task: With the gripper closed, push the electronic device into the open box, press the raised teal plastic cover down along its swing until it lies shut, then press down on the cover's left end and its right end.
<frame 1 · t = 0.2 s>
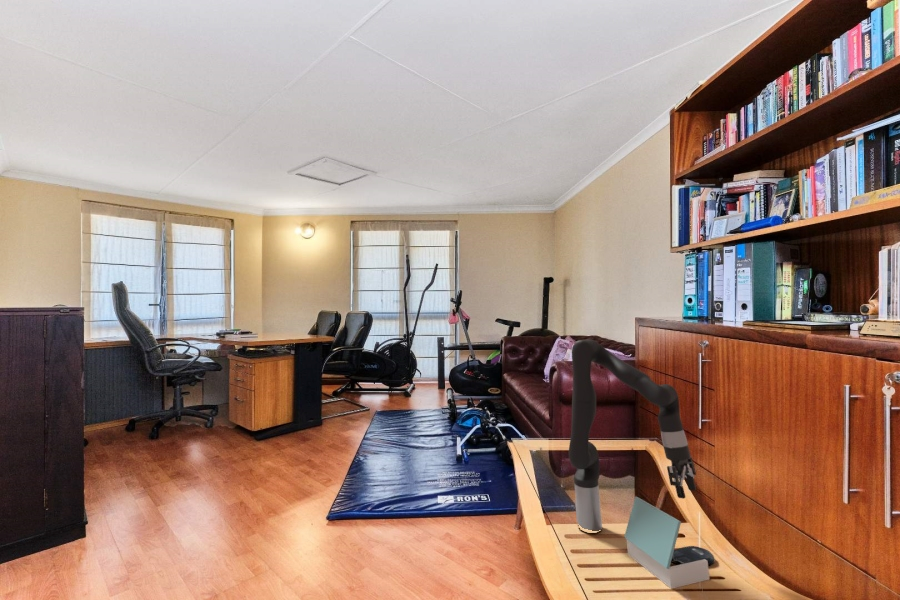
hand: (687, 493, 132), 22 cm above the table, tool pointing down, fingers open, 8 cm apart
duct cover: (650, 529, 130), point 12 cm above the table, hinge at 65.0°
open box: (666, 566, 130), on the table
electronic device: (691, 562, 132), on the table
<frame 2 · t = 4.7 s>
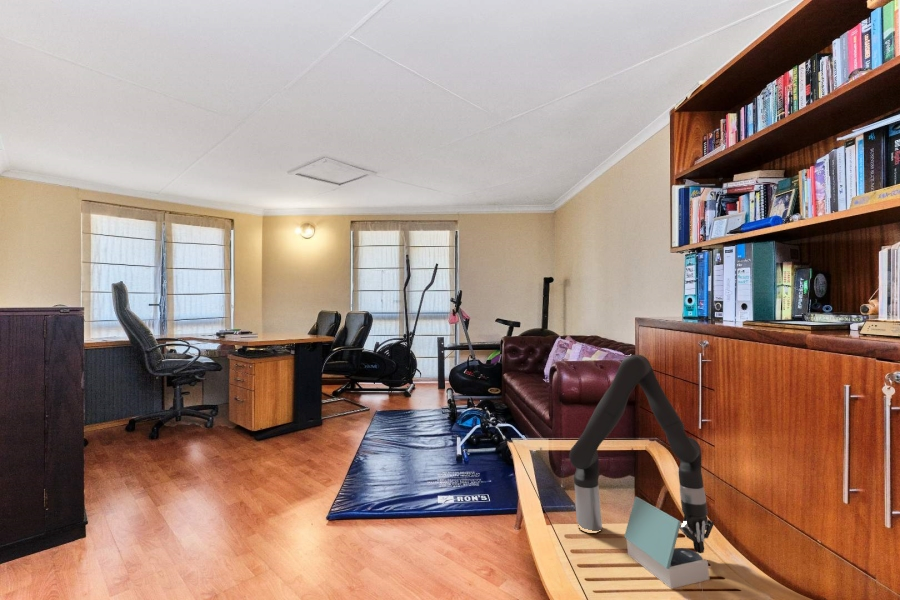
hand: (699, 551, 133), 2 cm above the table, tool pointing down, fingers closed
electronic device: (680, 564, 131), on the table, touching gripper
everything else where it was.
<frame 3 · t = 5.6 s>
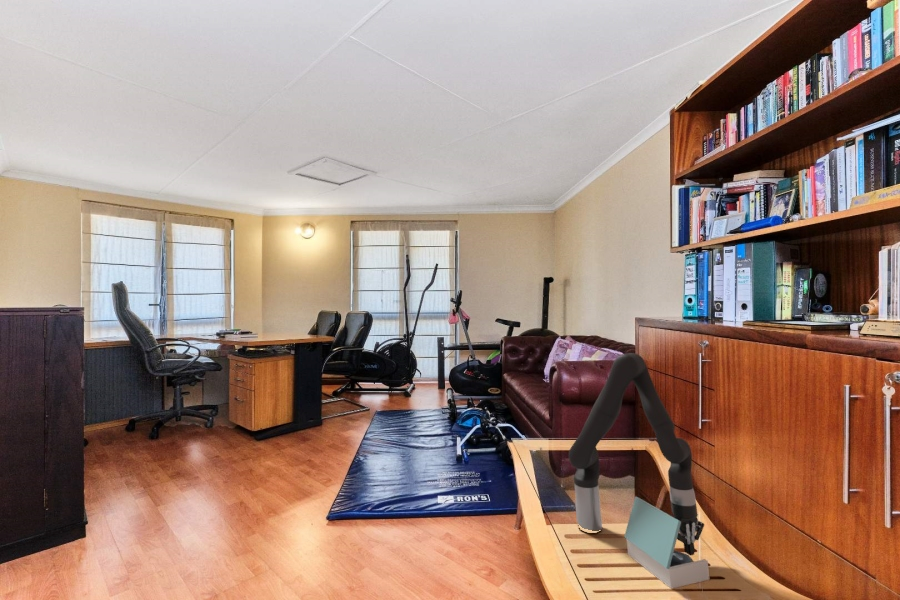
hand: (690, 553, 132), 2 cm above the table, tool pointing down, fingers closed
electronic device: (670, 567, 130), on the table, touching open box, gripper
everything else where it was.
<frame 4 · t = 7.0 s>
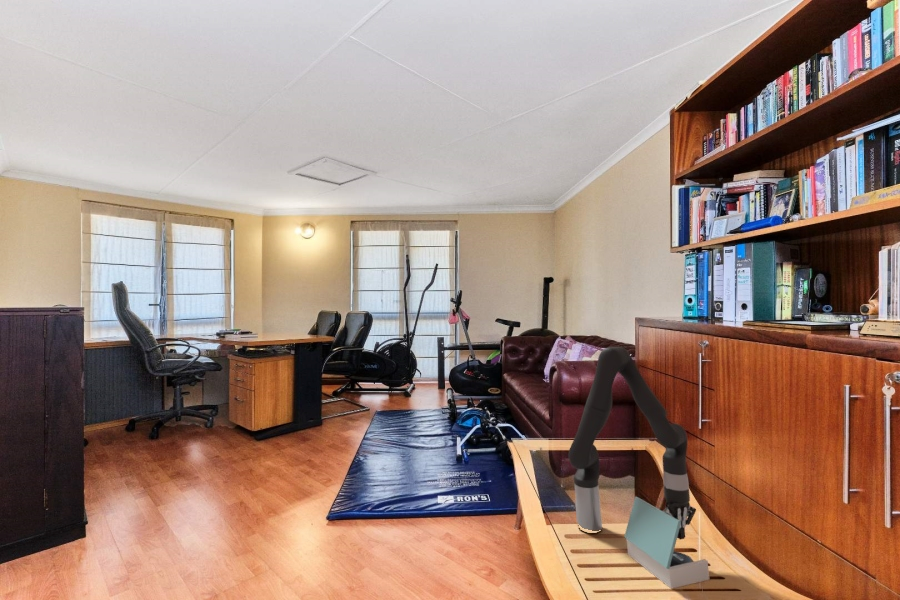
hand: (680, 537, 132), 8 cm above the table, tool pointing down, fingers closed
electronic device: (671, 568, 130), on the table
everything else where it was.
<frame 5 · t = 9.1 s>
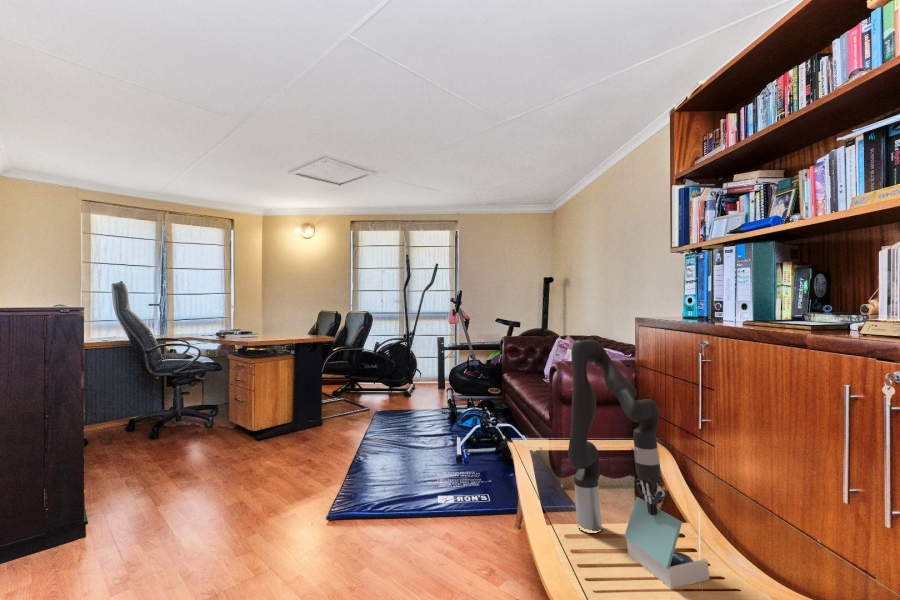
hand: (652, 514, 130), 17 cm above the table, tool pointing down, fingers closed
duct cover: (651, 529, 130), point 12 cm above the table, hinge at 63.3°, touching gripper
everything else where it was.
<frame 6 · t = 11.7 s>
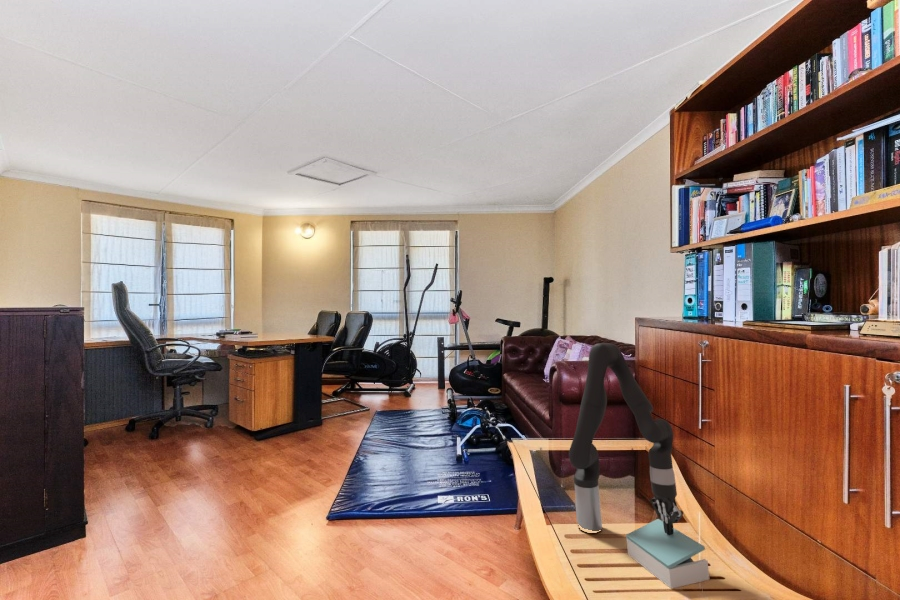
hand: (669, 533, 132), 9 cm above the table, tool pointing down, fingers closed
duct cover: (663, 541, 130), point 8 cm above the table, hinge at 13.6°
everything else where it was.
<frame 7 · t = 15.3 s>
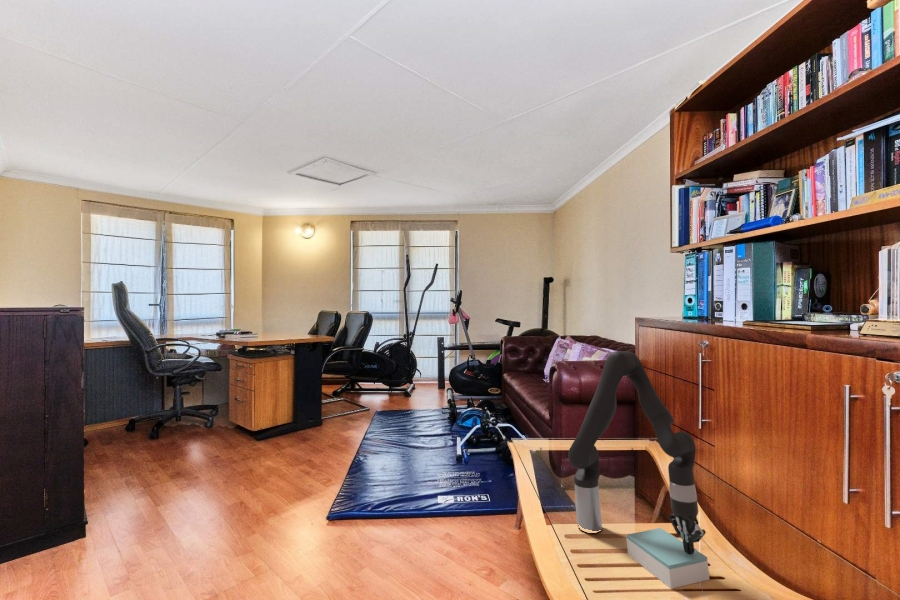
hand: (689, 552, 125), 7 cm above the table, tool pointing down, fingers closed
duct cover: (664, 546, 130), point 6 cm above the table, hinge at 0.2°, touching gripper
everything else where it was.
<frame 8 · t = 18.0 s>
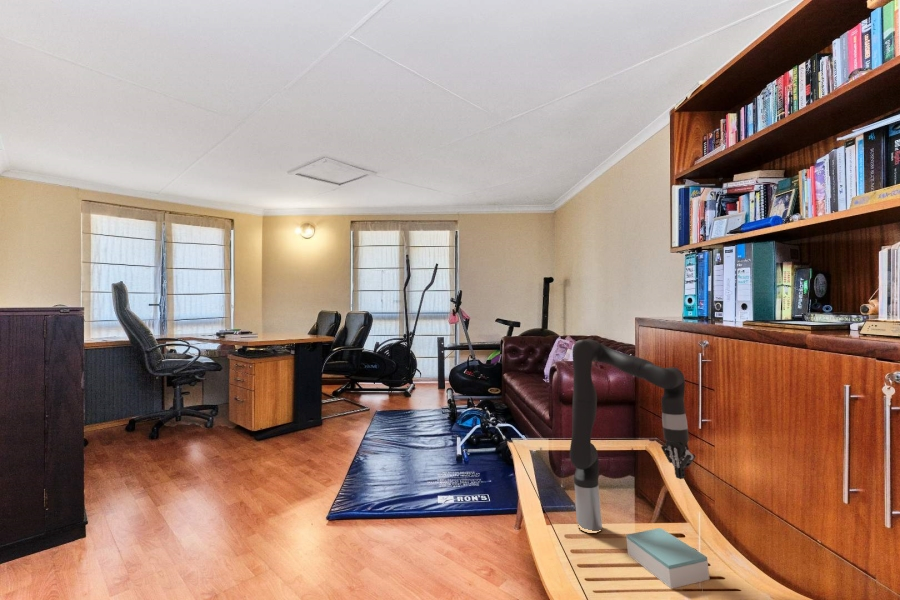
hand: (680, 478, 134), 27 cm above the table, tool pointing down, fingers closed
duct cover: (664, 546, 130), point 6 cm above the table, hinge at 0.1°
everything else where it was.
at the end: electronic device inside the target area (1.8 cm from its centre), on the table; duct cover at +0° (first picture: +65°) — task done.
